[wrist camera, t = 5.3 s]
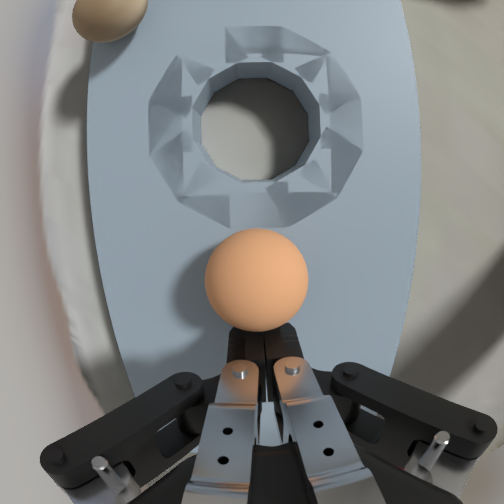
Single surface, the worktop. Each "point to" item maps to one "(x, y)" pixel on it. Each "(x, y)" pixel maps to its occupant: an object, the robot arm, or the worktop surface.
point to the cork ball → (107, 18)
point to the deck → (255, 191)
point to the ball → (256, 280)
